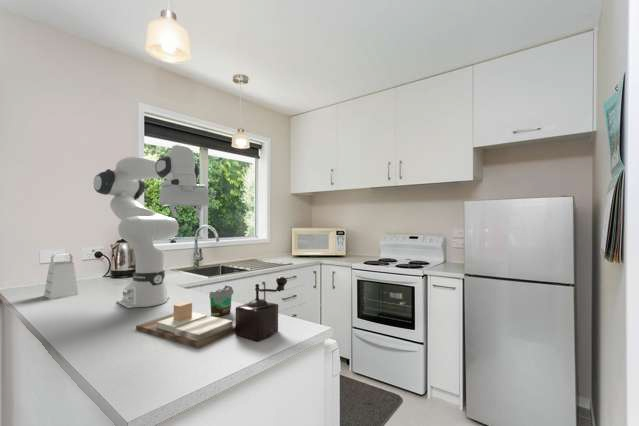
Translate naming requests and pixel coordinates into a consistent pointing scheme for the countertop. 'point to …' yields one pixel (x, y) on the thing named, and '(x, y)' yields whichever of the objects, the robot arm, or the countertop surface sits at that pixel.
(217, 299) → the food container
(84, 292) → the countertop surface
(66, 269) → the grater
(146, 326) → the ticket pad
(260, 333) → the manual coffee grinder
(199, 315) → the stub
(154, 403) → the countertop surface
